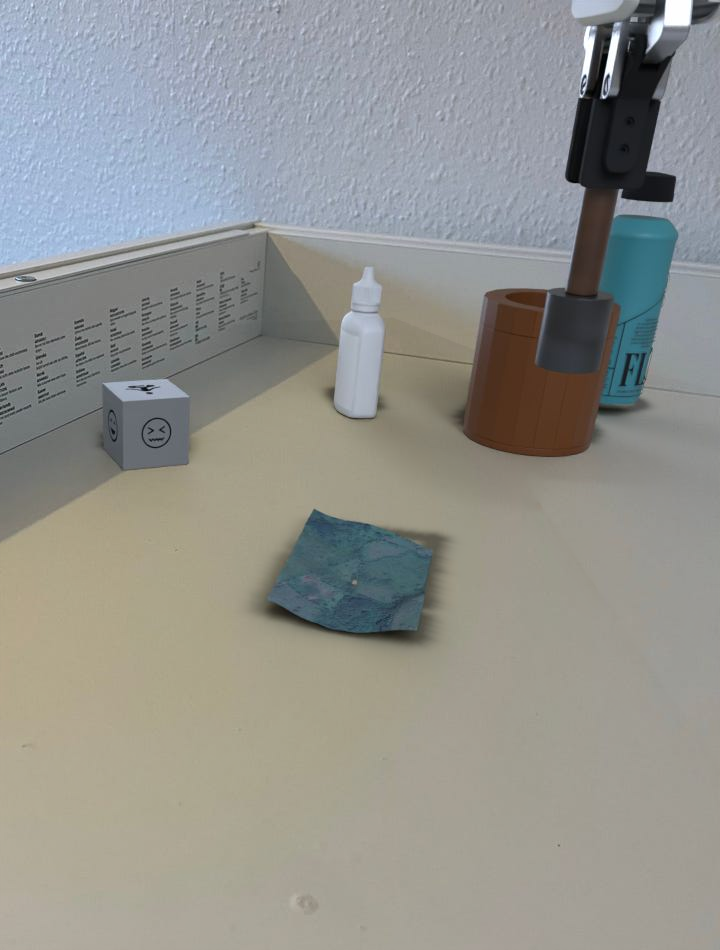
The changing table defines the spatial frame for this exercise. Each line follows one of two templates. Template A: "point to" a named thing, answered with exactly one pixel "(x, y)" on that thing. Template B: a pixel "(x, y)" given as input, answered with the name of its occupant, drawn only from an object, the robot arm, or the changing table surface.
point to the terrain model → (353, 577)
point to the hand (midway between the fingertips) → (602, 182)
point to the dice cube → (146, 423)
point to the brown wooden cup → (528, 382)
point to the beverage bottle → (637, 286)
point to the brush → (581, 293)
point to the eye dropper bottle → (360, 351)
